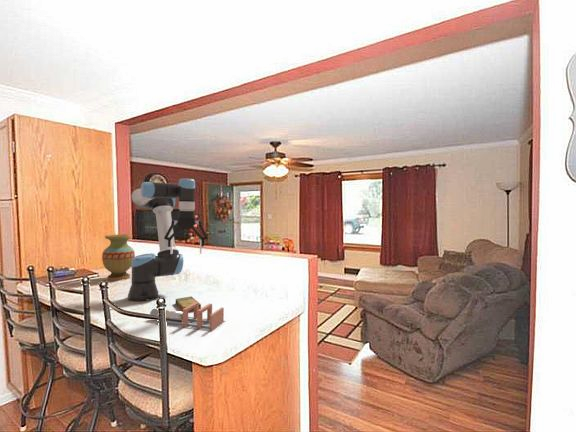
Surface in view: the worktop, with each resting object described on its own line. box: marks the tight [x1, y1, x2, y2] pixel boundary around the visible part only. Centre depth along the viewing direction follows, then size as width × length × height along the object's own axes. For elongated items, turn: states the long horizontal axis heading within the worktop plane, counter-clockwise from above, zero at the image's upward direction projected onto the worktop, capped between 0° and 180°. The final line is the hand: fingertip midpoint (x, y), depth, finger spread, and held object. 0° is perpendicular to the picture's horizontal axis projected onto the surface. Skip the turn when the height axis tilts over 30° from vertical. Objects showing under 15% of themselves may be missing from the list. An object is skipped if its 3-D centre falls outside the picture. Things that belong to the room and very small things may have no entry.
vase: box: [101, 233, 136, 281], centre depth 209 cm, size 20×20×30 cm
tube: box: [149, 308, 183, 322], centre depth 129 cm, size 16×4×4 cm, turn 75°
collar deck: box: [154, 301, 226, 333], centre depth 127 cm, size 26×12×8 cm, turn 75°
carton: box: [175, 295, 202, 313], centre depth 147 cm, size 8×16×4 cm, turn 33°
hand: (186, 253), depth 149 cm, fingers open, 13 cm apart
